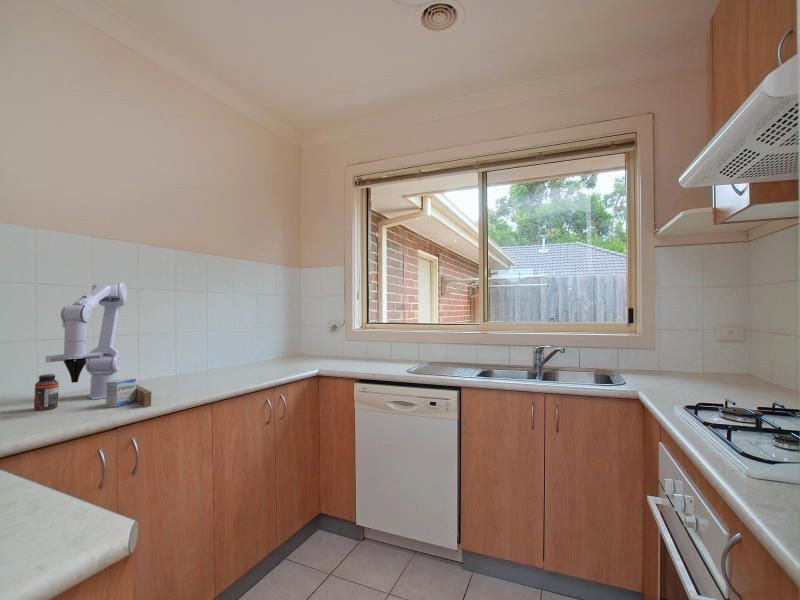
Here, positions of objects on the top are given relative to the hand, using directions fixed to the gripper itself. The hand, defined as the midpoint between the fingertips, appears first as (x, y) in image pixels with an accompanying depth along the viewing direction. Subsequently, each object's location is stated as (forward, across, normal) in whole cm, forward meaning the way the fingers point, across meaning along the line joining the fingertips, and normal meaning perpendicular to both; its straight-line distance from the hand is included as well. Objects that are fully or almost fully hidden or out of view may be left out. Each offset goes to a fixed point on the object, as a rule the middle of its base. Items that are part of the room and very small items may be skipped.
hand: (74, 382), depth 130 cm
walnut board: (+9, +18, -2) cm, 20 cm away
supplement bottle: (+10, -6, +9) cm, 14 cm away
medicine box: (+10, +13, -2) cm, 16 cm away
